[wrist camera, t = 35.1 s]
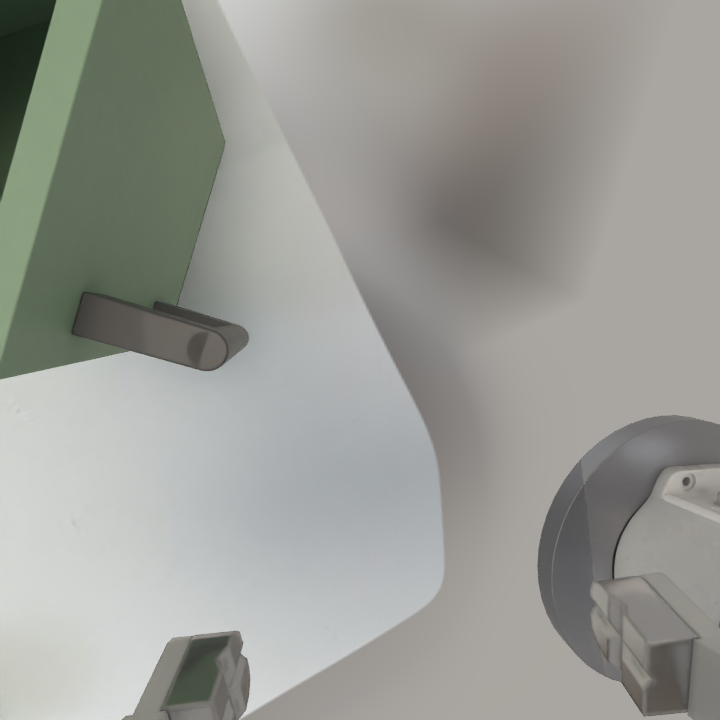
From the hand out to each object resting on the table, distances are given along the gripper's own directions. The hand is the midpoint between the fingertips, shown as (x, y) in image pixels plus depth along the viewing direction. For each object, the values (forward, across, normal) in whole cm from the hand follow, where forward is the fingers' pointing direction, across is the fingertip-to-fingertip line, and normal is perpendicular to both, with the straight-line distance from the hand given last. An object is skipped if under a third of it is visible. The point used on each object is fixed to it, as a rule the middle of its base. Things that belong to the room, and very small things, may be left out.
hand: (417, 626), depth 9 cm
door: (+21, +8, -10) cm, 25 cm away
